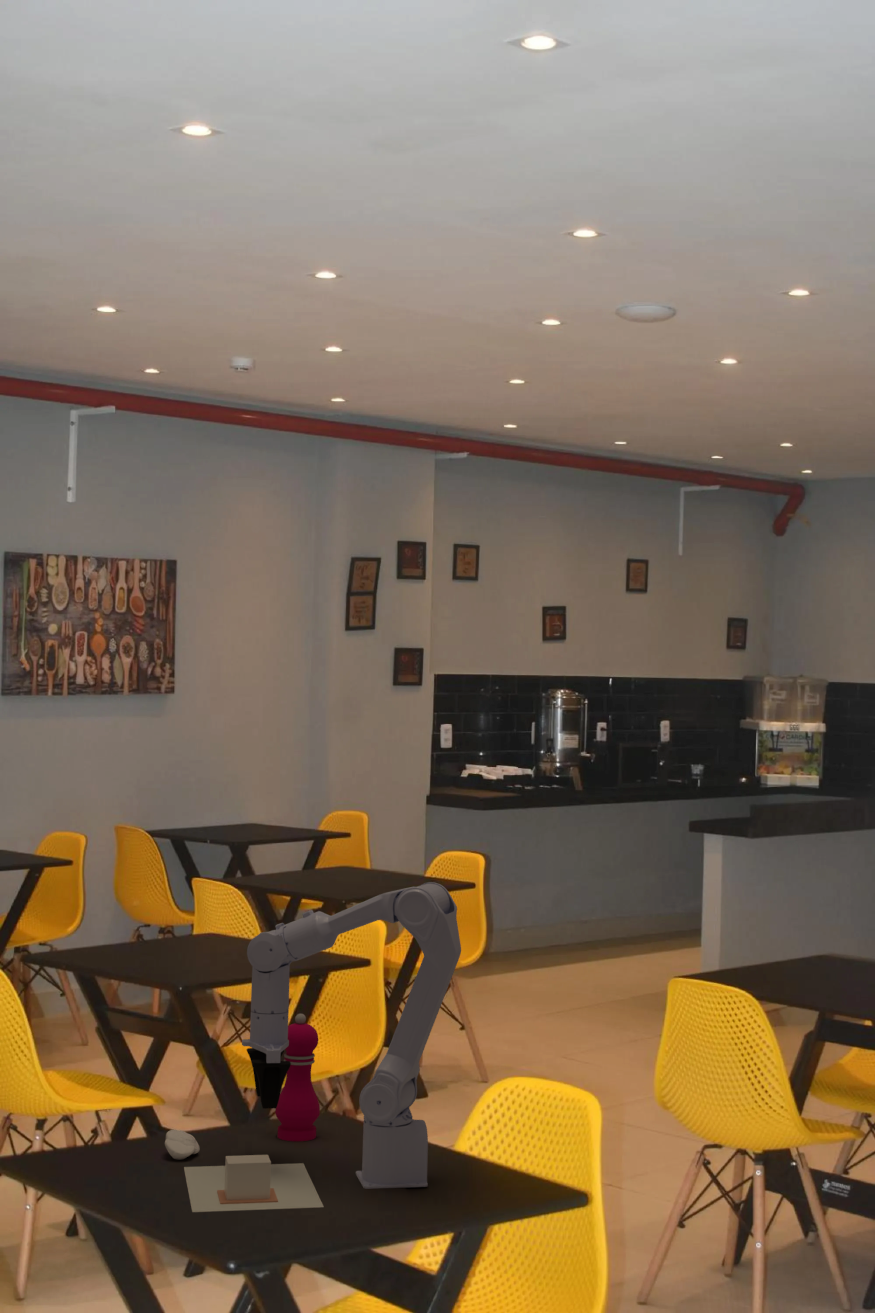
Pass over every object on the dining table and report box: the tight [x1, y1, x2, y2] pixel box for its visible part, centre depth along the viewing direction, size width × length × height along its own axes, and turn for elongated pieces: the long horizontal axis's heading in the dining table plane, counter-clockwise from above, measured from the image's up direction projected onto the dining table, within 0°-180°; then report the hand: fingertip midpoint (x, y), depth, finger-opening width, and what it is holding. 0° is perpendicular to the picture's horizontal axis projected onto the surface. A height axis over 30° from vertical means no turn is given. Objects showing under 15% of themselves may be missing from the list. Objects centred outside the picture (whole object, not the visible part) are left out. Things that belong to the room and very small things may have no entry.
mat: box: [183, 1162, 324, 1213], centre depth 222 cm, size 18×22×1 cm
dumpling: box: [164, 1129, 201, 1161], centre depth 237 cm, size 7×5×4 cm
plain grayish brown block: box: [224, 1154, 272, 1200], centre depth 217 cm, size 4×6×5 cm, turn 103°
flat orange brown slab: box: [217, 1188, 278, 1204], centre depth 217 cm, size 8×6×1 cm
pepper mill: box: [274, 1013, 321, 1142], centre depth 251 cm, size 7×7×20 cm
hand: (266, 1102), depth 233 cm, fingers open, 7 cm apart
